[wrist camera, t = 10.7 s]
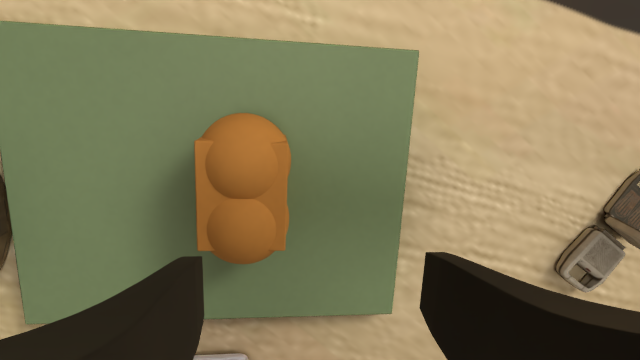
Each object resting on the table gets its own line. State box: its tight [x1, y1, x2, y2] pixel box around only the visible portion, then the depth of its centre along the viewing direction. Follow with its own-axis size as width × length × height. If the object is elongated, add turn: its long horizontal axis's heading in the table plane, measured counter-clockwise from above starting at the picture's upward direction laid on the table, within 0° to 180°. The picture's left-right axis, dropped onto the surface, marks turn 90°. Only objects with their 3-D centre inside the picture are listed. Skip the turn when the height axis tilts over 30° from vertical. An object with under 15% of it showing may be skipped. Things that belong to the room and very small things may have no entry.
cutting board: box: [0, 21, 419, 324], centre depth 19 cm, size 15×20×1 cm
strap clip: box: [556, 171, 640, 292], centre depth 22 cm, size 8×3×4 cm, turn 143°
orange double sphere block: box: [194, 113, 291, 264], centre depth 17 cm, size 7×4×4 cm, turn 177°
